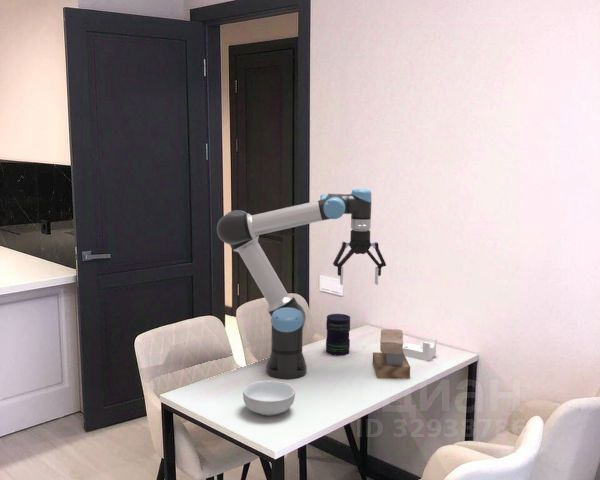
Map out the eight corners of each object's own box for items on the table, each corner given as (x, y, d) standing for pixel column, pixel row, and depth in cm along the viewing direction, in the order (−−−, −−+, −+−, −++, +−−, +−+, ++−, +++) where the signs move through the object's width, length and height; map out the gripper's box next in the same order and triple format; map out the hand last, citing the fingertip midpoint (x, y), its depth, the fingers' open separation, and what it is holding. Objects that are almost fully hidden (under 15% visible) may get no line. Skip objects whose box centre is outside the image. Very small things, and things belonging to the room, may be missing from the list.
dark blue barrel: (320, 352, 271) (321, 317, 269) (335, 346, 278) (336, 312, 276) (340, 357, 265) (340, 321, 262) (354, 351, 272) (355, 316, 270)
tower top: (386, 364, 244) (387, 352, 243) (385, 353, 257) (385, 341, 256) (402, 365, 243) (403, 352, 243) (400, 354, 256) (401, 341, 255)
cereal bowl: (233, 407, 215) (233, 386, 214) (276, 396, 224) (276, 376, 223) (260, 426, 201) (260, 404, 200) (304, 414, 211) (305, 393, 210)
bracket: (435, 357, 268) (436, 339, 267) (428, 362, 262) (429, 343, 261) (406, 350, 275) (407, 333, 274) (398, 355, 270) (399, 337, 268)
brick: (402, 354, 241) (403, 342, 240) (379, 353, 242) (380, 340, 241) (402, 340, 257) (402, 329, 256) (380, 339, 258) (380, 328, 257)
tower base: (377, 379, 243) (377, 366, 242) (372, 364, 259) (372, 352, 258) (409, 379, 243) (410, 367, 242) (402, 365, 259) (403, 352, 258)
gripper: (329, 230, 246) (327, 286, 250) (394, 231, 248) (392, 286, 251) (327, 228, 254) (325, 281, 257) (391, 228, 255) (388, 281, 259)
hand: (358, 284), depth 254 cm, fingers open, 13 cm apart
